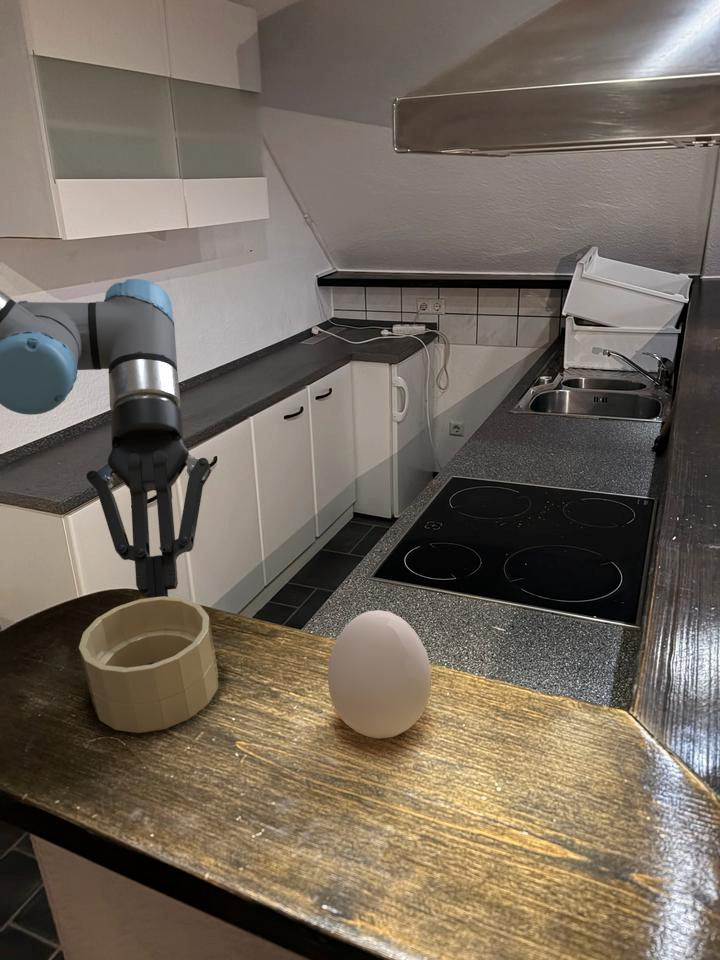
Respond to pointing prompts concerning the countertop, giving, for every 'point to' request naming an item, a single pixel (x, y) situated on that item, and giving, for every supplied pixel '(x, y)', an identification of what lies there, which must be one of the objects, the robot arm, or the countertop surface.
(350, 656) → the egg
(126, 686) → the ring
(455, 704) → the countertop surface
